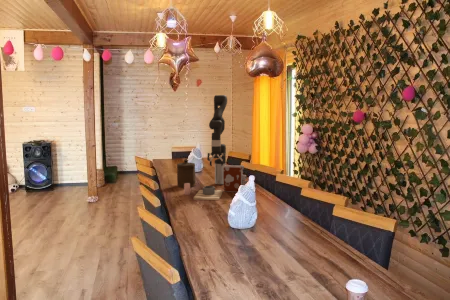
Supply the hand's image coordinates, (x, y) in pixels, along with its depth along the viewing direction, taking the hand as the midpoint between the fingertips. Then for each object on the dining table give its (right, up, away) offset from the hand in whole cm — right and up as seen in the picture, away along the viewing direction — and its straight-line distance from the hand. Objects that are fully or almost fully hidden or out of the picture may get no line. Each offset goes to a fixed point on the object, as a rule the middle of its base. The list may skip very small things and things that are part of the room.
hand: (216, 165), depth 323 cm
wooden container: (-25, -17, +10) cm, 32 cm away
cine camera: (+16, -19, -13) cm, 28 cm away
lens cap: (-21, -20, -20) cm, 36 cm away
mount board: (-5, -21, -26) cm, 34 cm away
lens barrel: (-5, -20, -26) cm, 33 cm away
